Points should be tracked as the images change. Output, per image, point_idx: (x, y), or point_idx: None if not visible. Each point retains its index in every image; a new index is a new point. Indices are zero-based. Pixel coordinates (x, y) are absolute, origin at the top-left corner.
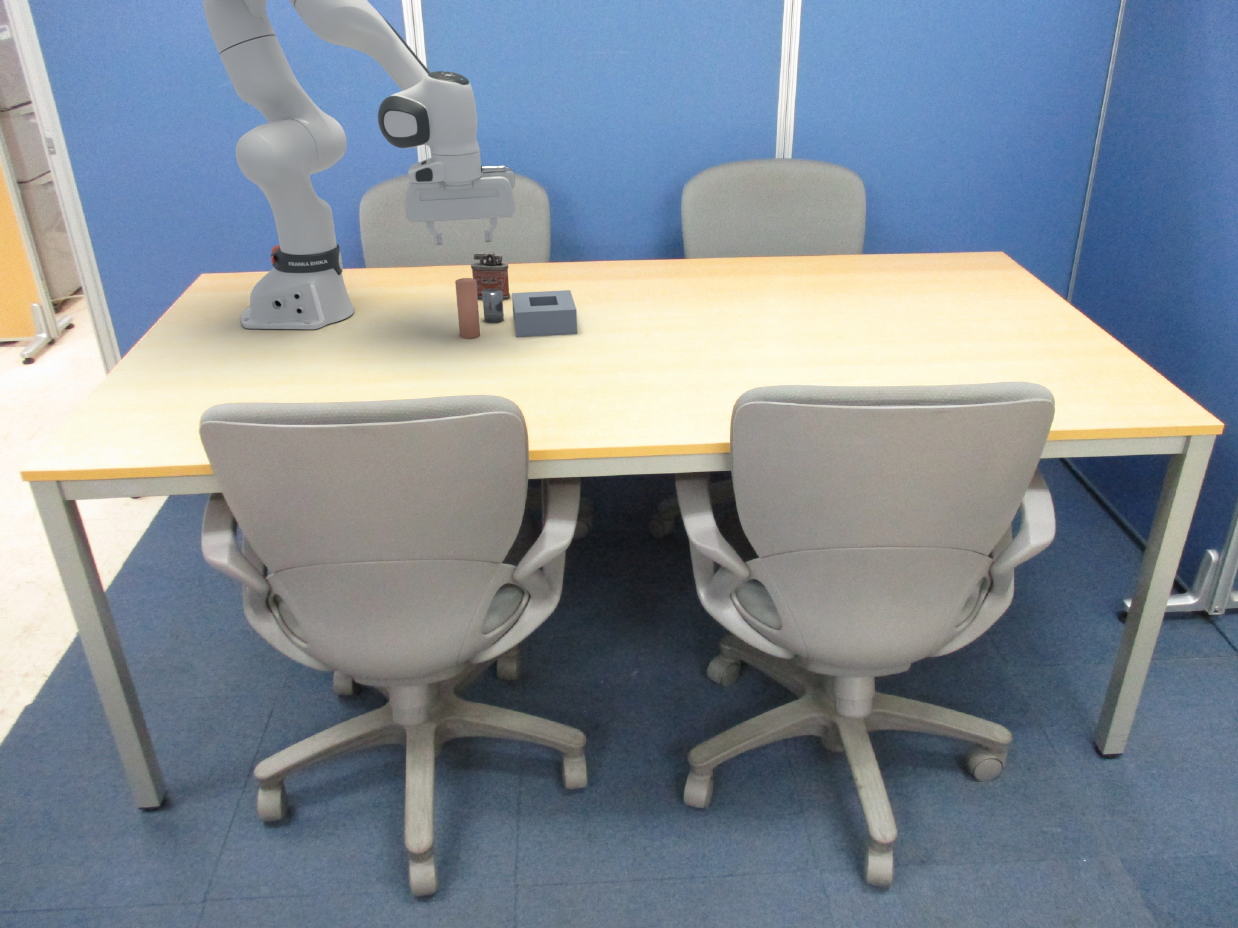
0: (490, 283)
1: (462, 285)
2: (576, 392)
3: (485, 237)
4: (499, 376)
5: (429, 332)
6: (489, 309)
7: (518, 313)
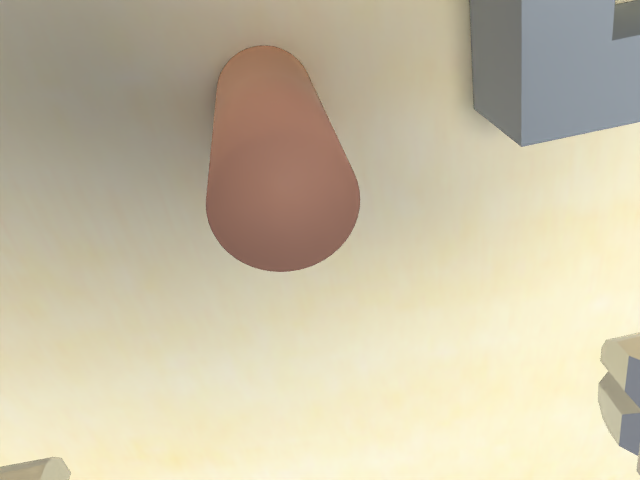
0: None
1: (274, 268)
2: (614, 477)
3: (635, 420)
4: (420, 425)
5: (51, 65)
6: None
7: (536, 141)
